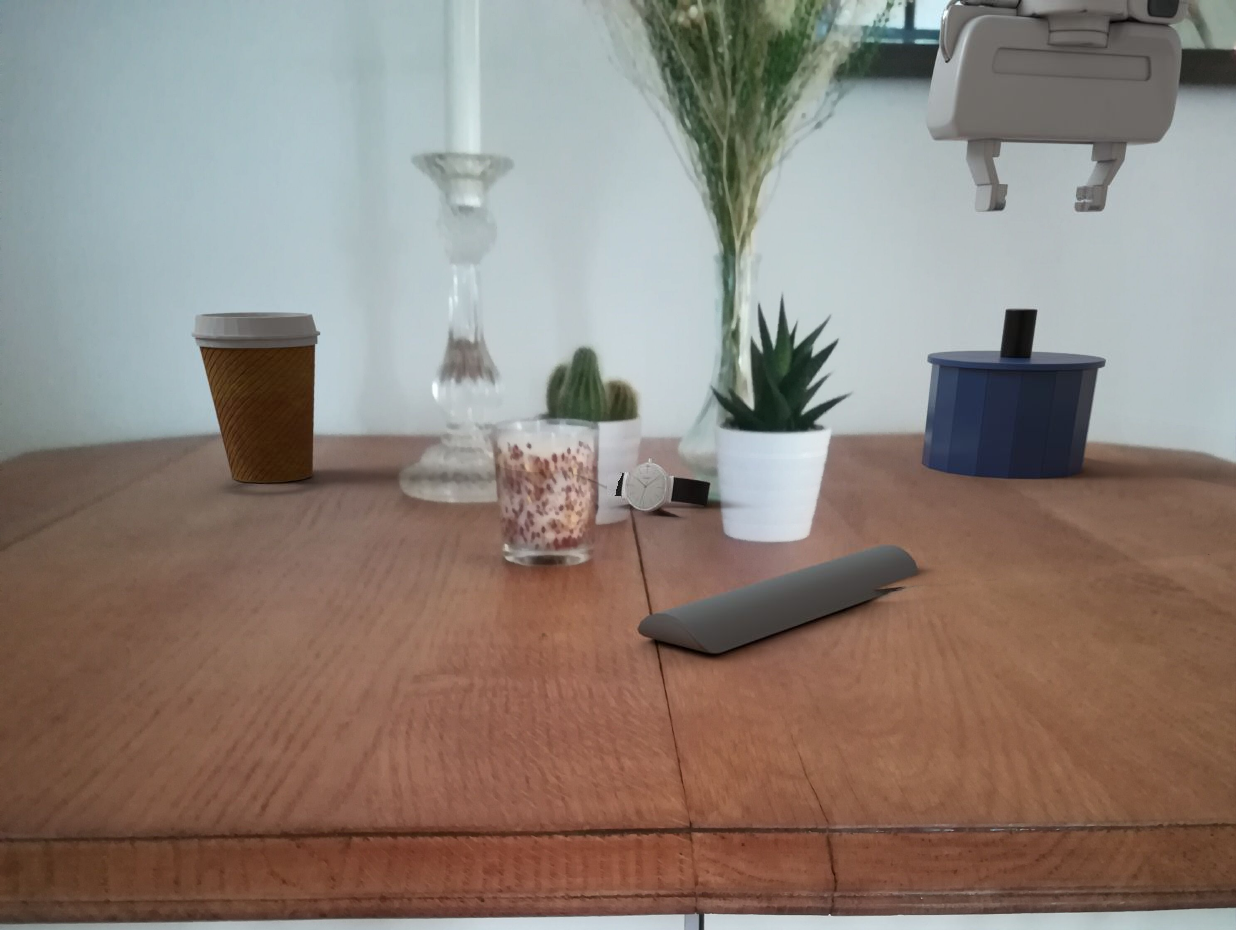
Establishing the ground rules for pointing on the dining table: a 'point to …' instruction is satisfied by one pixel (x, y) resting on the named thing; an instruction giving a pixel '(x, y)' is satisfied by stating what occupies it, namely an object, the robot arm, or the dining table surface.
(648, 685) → the dining table surface
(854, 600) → the half round rod
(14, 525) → the dining table surface
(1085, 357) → the lid
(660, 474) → the watch
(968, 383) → the pot
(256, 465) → the disposable coffee cup
